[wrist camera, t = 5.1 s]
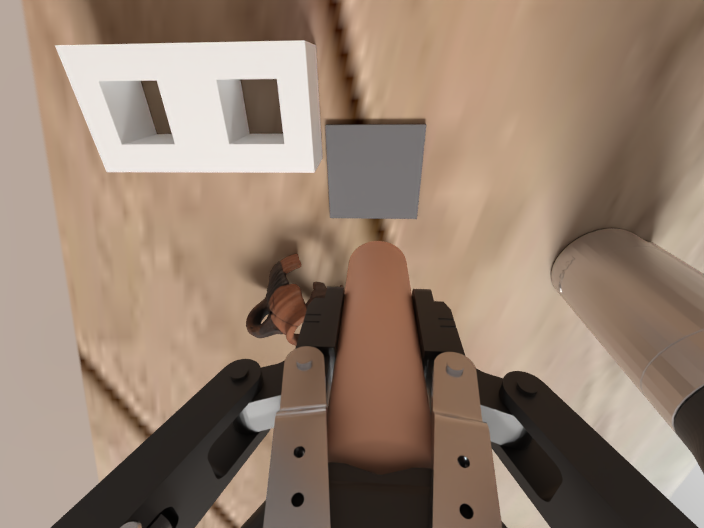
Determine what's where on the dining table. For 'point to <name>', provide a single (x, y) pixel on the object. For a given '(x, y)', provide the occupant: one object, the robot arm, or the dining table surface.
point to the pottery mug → (282, 304)
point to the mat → (374, 170)
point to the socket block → (197, 105)
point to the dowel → (378, 369)
